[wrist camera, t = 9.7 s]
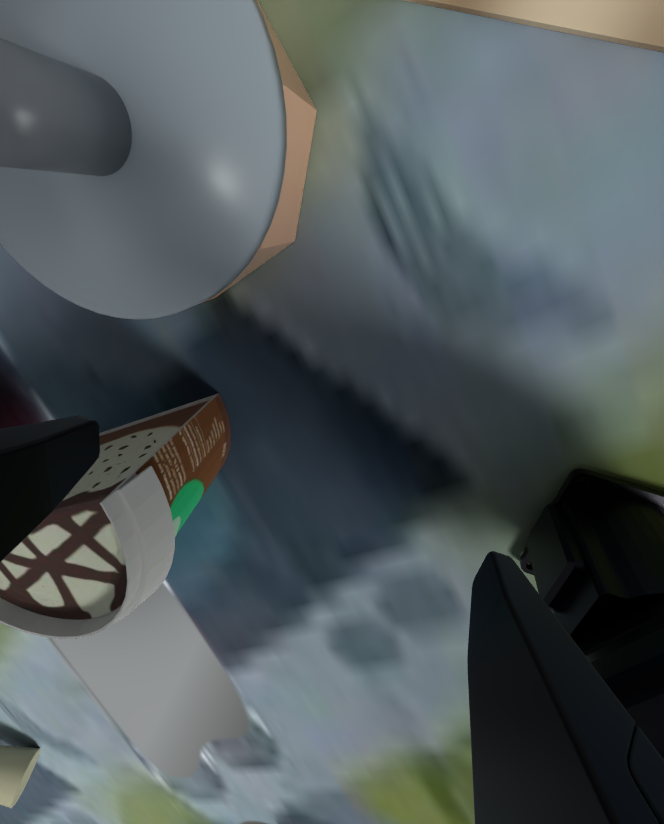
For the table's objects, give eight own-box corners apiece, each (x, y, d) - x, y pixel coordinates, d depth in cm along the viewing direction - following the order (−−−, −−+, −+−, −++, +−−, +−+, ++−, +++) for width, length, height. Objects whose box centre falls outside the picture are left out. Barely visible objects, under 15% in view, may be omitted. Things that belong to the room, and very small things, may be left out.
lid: (323, -92, 11) (247, -285, 7) (258, 350, 17) (193, 400, 13) (-83, -166, 13) (-369, -370, 8) (-17, 268, 18) (-163, 287, 14)
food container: (129, 519, 29) (-10, 656, 20) (77, 440, 27) (-102, 554, 18) (289, 482, 24) (203, 637, 16) (242, 385, 22) (113, 499, 14)
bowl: (336, -6, 15) (303, -71, 11) (282, 316, 20) (248, 339, 17) (41, -65, 16) (-69, -140, 13) (64, 253, 22) (-10, 263, 18)
